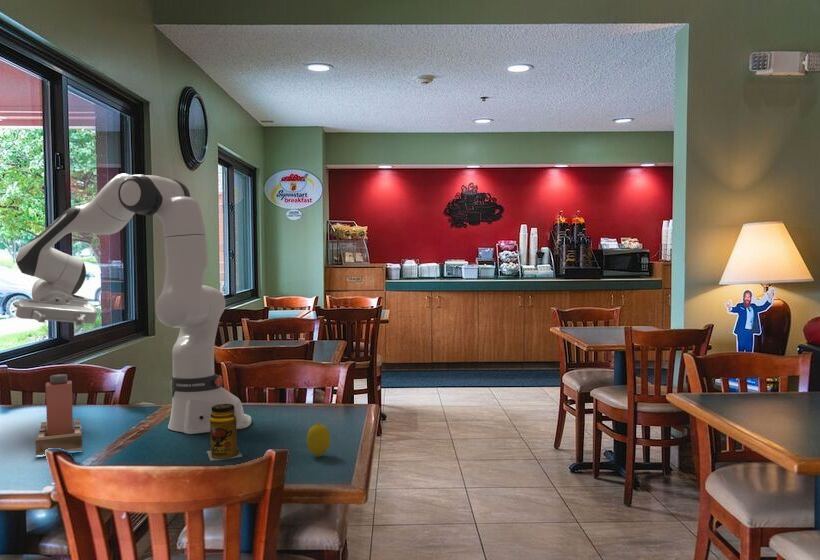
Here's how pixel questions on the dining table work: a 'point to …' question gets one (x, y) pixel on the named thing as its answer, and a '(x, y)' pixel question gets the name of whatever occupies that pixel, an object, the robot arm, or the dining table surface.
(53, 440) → the press base
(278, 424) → the dining table surface
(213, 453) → the condiment
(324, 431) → the lemon
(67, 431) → the pink upright post
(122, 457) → the dining table surface
